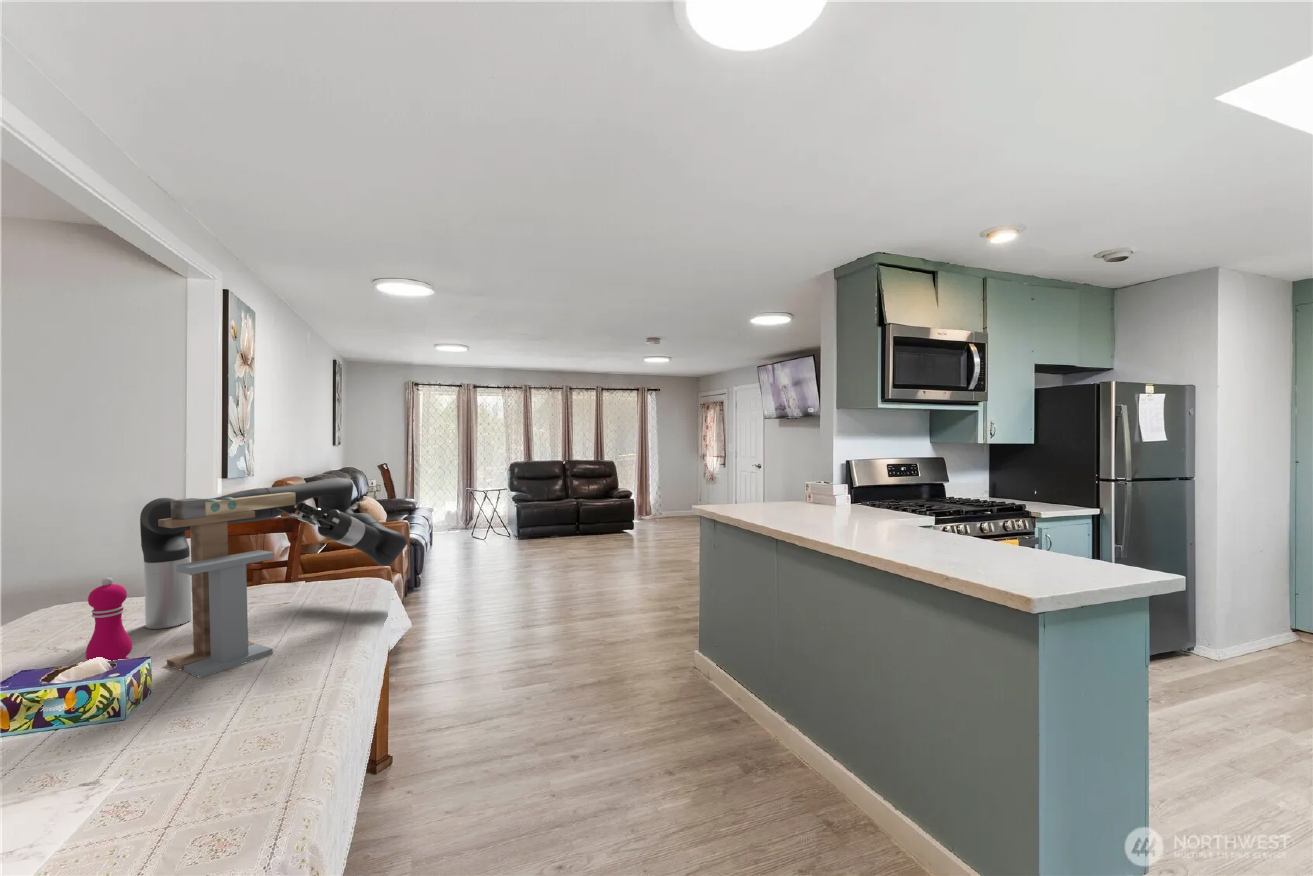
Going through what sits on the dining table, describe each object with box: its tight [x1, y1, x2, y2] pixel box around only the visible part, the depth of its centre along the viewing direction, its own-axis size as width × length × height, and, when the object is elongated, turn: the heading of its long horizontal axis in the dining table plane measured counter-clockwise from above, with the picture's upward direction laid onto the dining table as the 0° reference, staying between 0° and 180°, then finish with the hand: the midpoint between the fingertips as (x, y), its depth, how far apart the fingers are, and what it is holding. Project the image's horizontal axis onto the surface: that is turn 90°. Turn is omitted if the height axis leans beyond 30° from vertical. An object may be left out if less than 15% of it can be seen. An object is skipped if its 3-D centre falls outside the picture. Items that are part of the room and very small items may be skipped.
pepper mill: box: [85, 577, 133, 661], centre depth 121 cm, size 7×7×20 cm
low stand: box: [176, 549, 275, 679], centre depth 125 cm, size 7×16×23 cm, turn 152°
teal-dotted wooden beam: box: [171, 492, 297, 520], centre depth 134 cm, size 5×25×4 cm, turn 157°
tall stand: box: [158, 511, 255, 671], centre depth 128 cm, size 7×16×32 cm, turn 152°
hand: (288, 504), depth 143 cm, fingers open, 8 cm apart
